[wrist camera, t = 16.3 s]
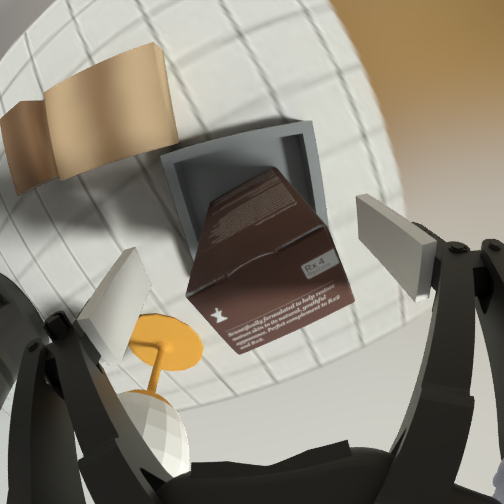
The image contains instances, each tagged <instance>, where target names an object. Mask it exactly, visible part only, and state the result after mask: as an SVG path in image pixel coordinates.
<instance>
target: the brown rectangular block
mask: <svg viewBox="0 0 504 504" xmlns="http://www.w3.org/2000/svg"><path fill="white" fill-rule="evenodd" d="M0 126H1V132H2V138H3V143H4V147H5V152H6V156H7V161H8V165H9V168H10V172H11V176H12V179H13V183H14V186H15V189H16V193H17V196H20V195H22V194H24V193H26V192H28V191H30V190H32V189H34V188H36V187H38V186H40V185H43V184H45V183H47V182H49V181H52V180H53V179H55V178H57V177H59V174H58V170H57V166H56V162H55V157H54V153H53V148H52V143H51V138H50V132H49V127H48V120H47V113H46V106H45V100H44V101H20V102H19V103H18V104H17V105H15V106H14V107H13V108H12V109H11V110H10V111H8V112H7V113H6V114H5V115H4V116H3V117H2V118H1V119H0Z"/></svg>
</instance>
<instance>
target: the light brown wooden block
mask: <svg viewBox="0 0 504 504" xmlns="http://www.w3.org/2000/svg"><path fill="white" fill-rule="evenodd" d="M44 97H45V106H46V113H47V120H48V127H49V132H50V138H51V143H52V148H53V153H54V157H55V162H56V166H57V170H58V174H59V178H60V182H61V181H63V180H65V179H68V178H70V177H73V176H75V175H78V174H81V173H83V172H86V171H89V170H91V169H94V168H97V167H100V166H103V165H106V164H109V163H112V162H115V161H118V160H121V159H124V158H127V157H130V156H134V155H137V154H140V153H144V152H147V151H151V150H155V149H158V148H162V147H166V146H170V145H173V144H177V143H179V139H178V134H177V128H176V123H175V118H174V113H173V107H172V102H171V96H170V90H169V84H168V78H167V72H166V66H165V59H164V53H163V50H162V49H161V48H160V47H159V46H157V45H156V44H155V43H154V42H152V43H149V44H146V45H143V46H140V47H137V48H134V49H132V50H129V51H126V52H124V53H121V54H119V55H116V56H114V57H112V58H109V59H107V60H105V61H102V62H100V63H98V64H96V65H94V66H91V67H89V68H87V69H85V70H83V71H81V72H79V73H77V74H75V75H74V76H72V77H70V78H68V79H66V80H64V81H63V82H61V83H59V84H57V85H56V86H54V87H52V88H51V89H49V90H47V91H46V92H44Z"/></svg>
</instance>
